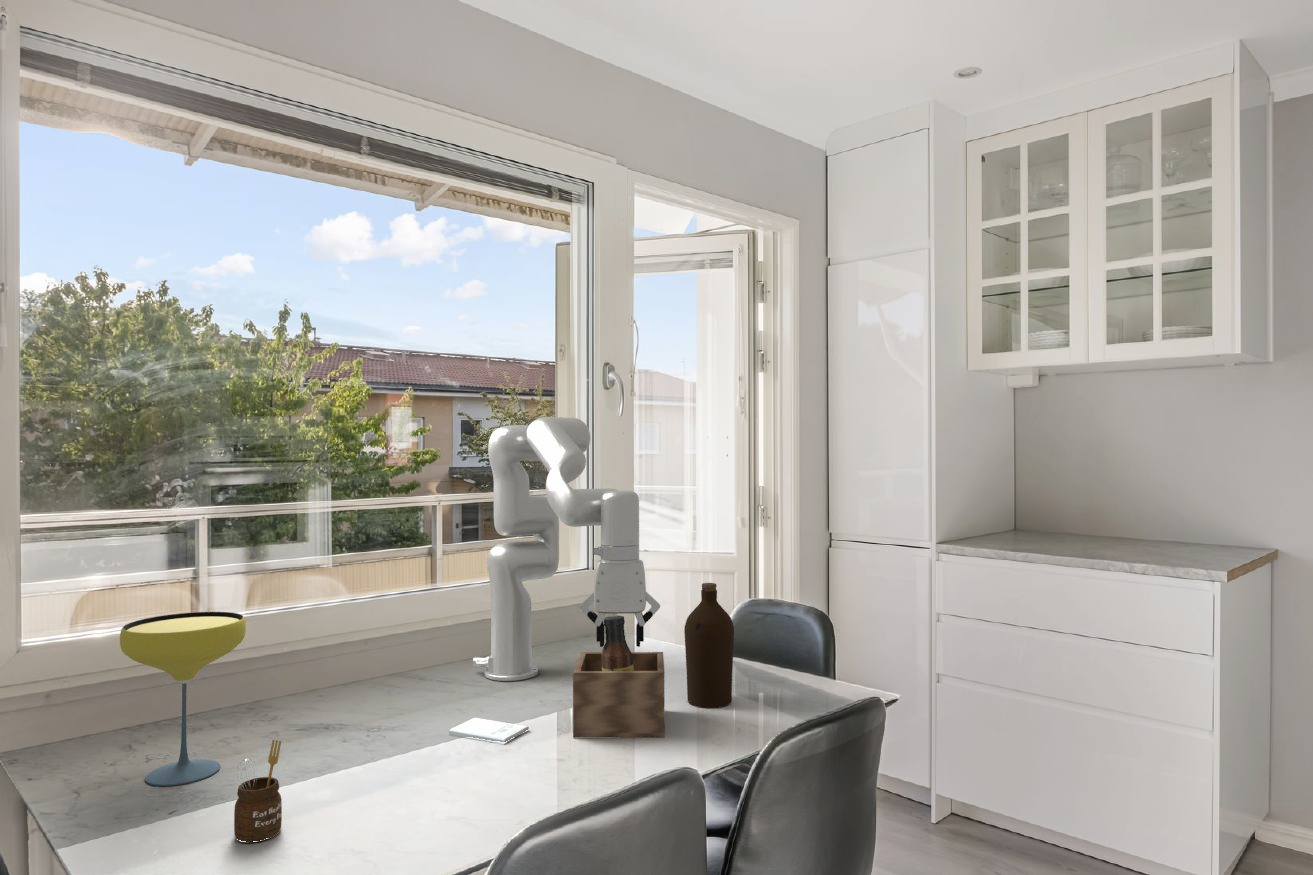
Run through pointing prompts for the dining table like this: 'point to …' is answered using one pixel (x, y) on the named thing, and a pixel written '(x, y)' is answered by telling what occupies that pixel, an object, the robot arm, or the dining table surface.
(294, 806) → the dining table surface
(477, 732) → the external hard drive
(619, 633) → the sauce bottle
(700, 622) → the olive oil
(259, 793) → the utensil holder
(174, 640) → the cocktail glass
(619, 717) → the walled box
